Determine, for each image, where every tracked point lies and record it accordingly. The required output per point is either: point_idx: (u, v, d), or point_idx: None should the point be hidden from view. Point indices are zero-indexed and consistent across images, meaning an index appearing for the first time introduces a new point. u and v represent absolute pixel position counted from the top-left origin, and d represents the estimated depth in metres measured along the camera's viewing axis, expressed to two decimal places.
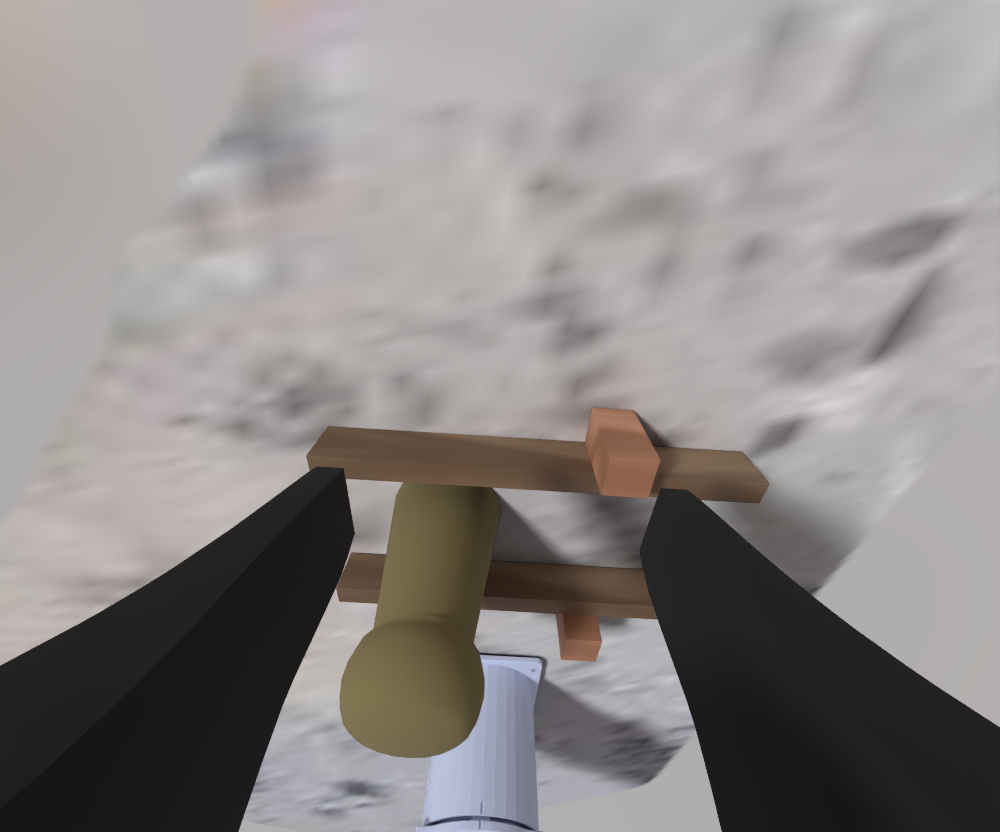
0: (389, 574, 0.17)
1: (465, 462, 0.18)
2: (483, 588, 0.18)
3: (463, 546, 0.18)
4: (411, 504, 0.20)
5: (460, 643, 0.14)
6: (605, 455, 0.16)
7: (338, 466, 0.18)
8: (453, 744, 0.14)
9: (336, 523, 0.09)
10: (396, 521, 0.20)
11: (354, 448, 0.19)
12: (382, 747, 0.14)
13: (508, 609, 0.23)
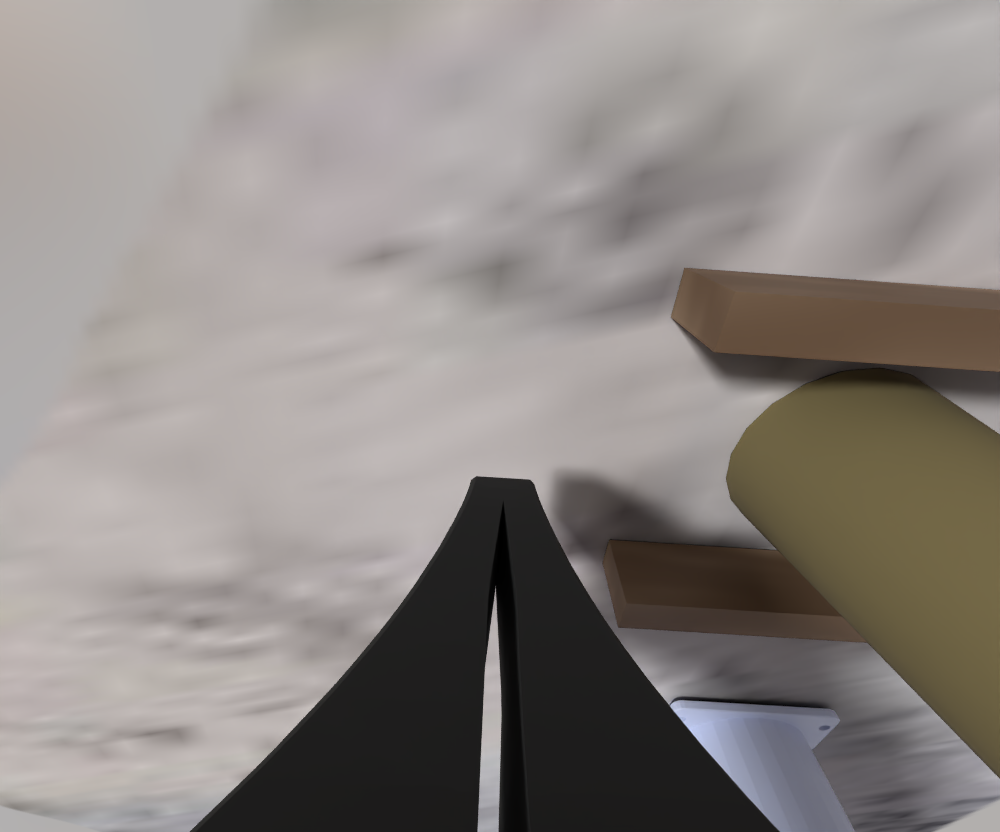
0: None
1: None
2: None
3: None
4: (875, 430, 0.09)
5: None
6: None
7: (796, 323, 0.08)
8: None
9: None
10: (845, 465, 0.09)
11: (810, 289, 0.08)
12: None
13: None
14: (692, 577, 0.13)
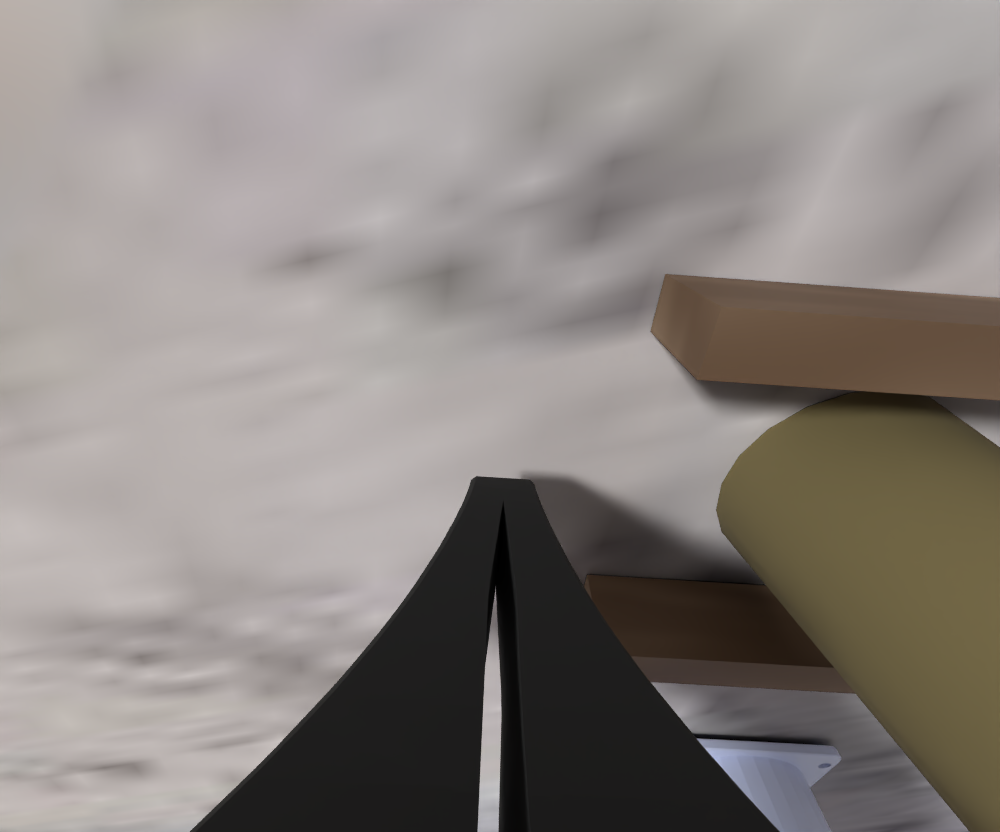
0: None
1: None
2: None
3: None
4: (889, 467, 0.08)
5: None
6: None
7: (797, 345, 0.06)
8: None
9: None
10: (853, 510, 0.08)
11: (814, 302, 0.07)
12: None
13: None
14: (678, 620, 0.12)
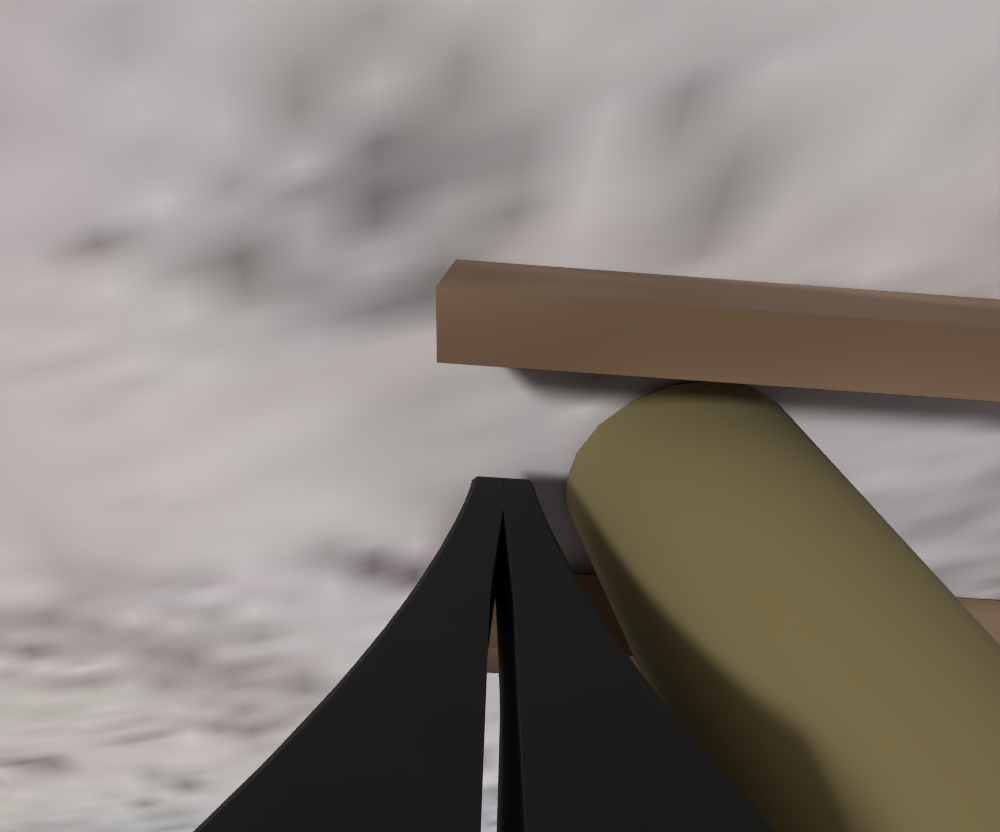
0: (766, 683, 0.05)
1: None
2: None
3: (927, 569, 0.06)
4: (683, 461, 0.08)
5: None
6: None
7: (524, 327, 0.06)
8: None
9: None
10: (647, 507, 0.07)
11: (558, 285, 0.07)
12: None
13: None
14: None
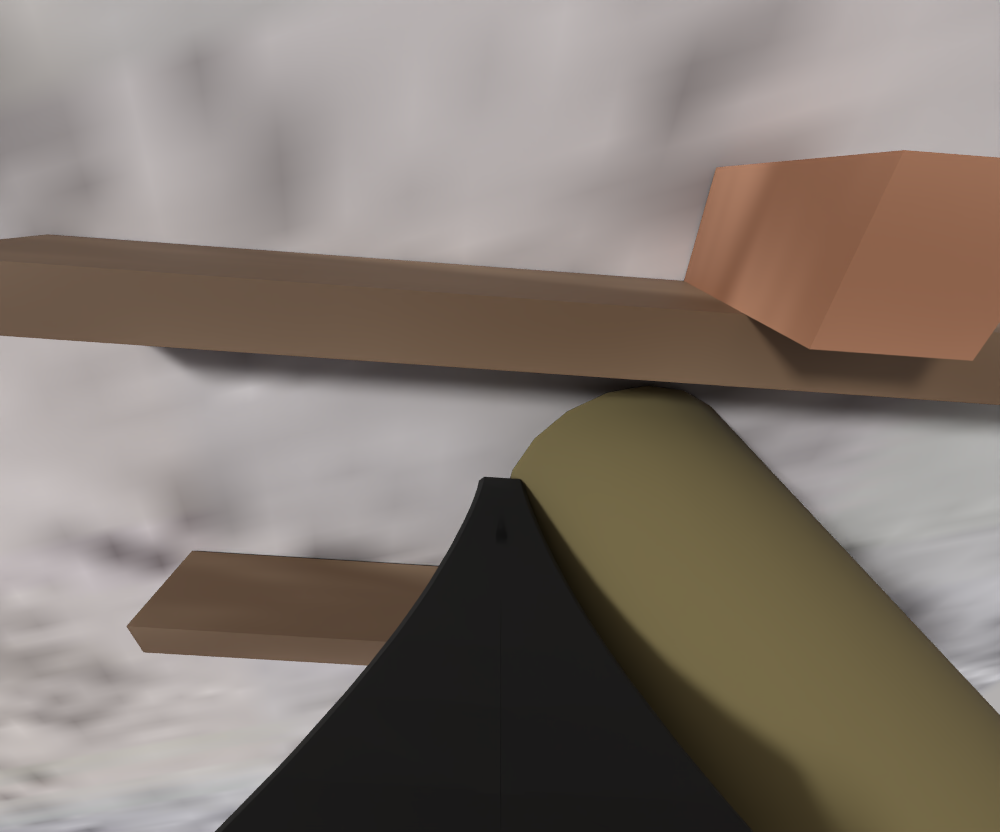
0: (730, 734, 0.04)
1: (366, 285, 0.06)
2: None
3: (865, 574, 0.06)
4: (623, 478, 0.07)
5: None
6: (846, 190, 0.04)
7: None
8: None
9: None
10: (589, 531, 0.07)
11: (58, 254, 0.07)
12: None
13: None
14: (244, 594, 0.12)
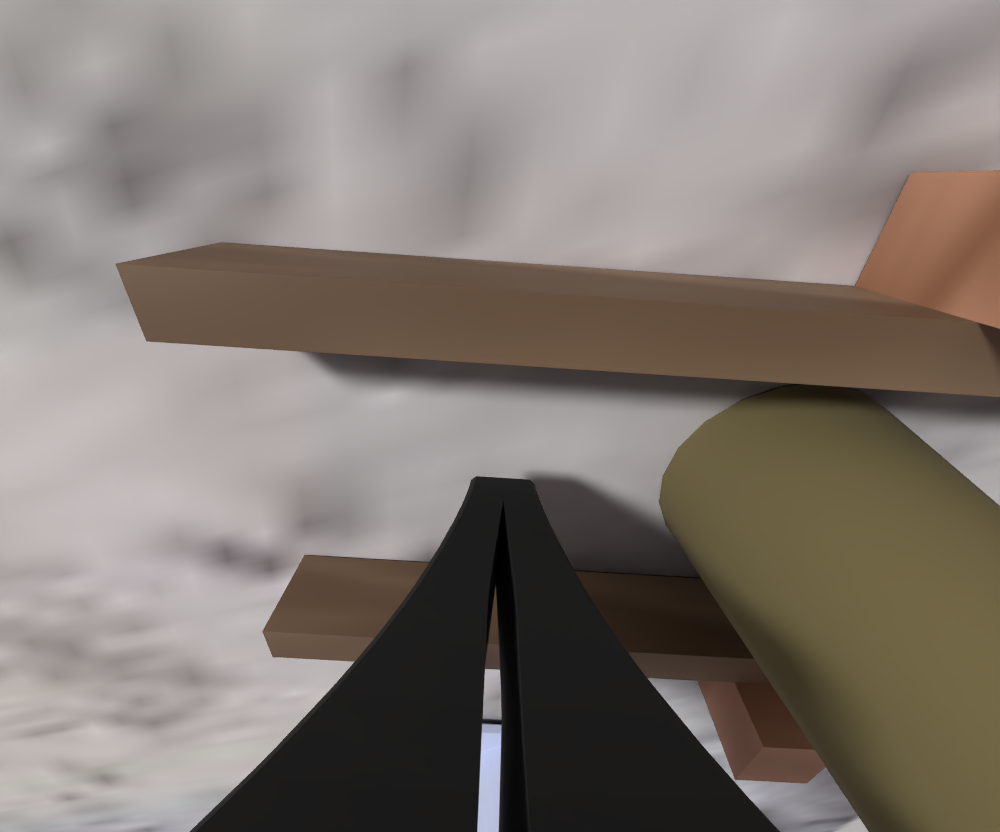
0: (934, 667, 0.05)
1: (591, 294, 0.06)
2: None
3: None
4: (809, 459, 0.08)
5: None
6: None
7: (218, 304, 0.06)
8: None
9: None
10: (772, 501, 0.08)
11: (271, 263, 0.07)
12: None
13: None
14: (367, 599, 0.12)
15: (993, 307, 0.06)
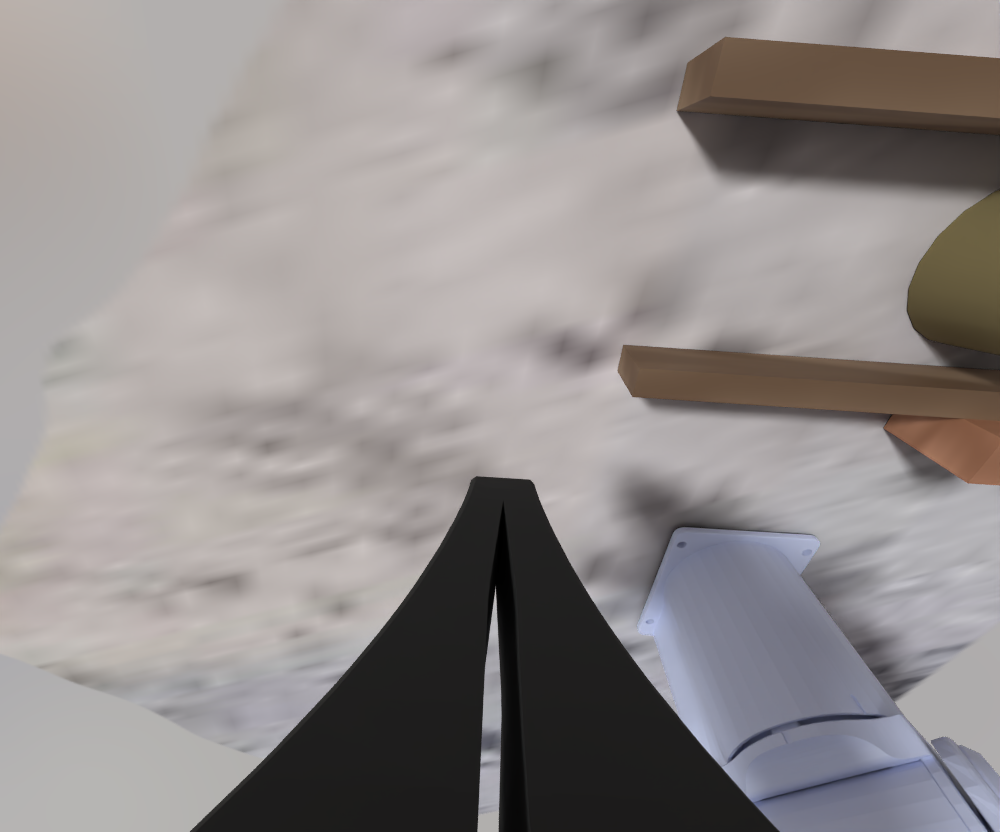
0: None
1: None
2: None
3: None
4: None
5: None
6: None
7: (770, 67, 0.11)
8: None
9: None
10: None
11: None
12: None
13: (880, 412, 0.16)
14: (693, 361, 0.16)
15: None
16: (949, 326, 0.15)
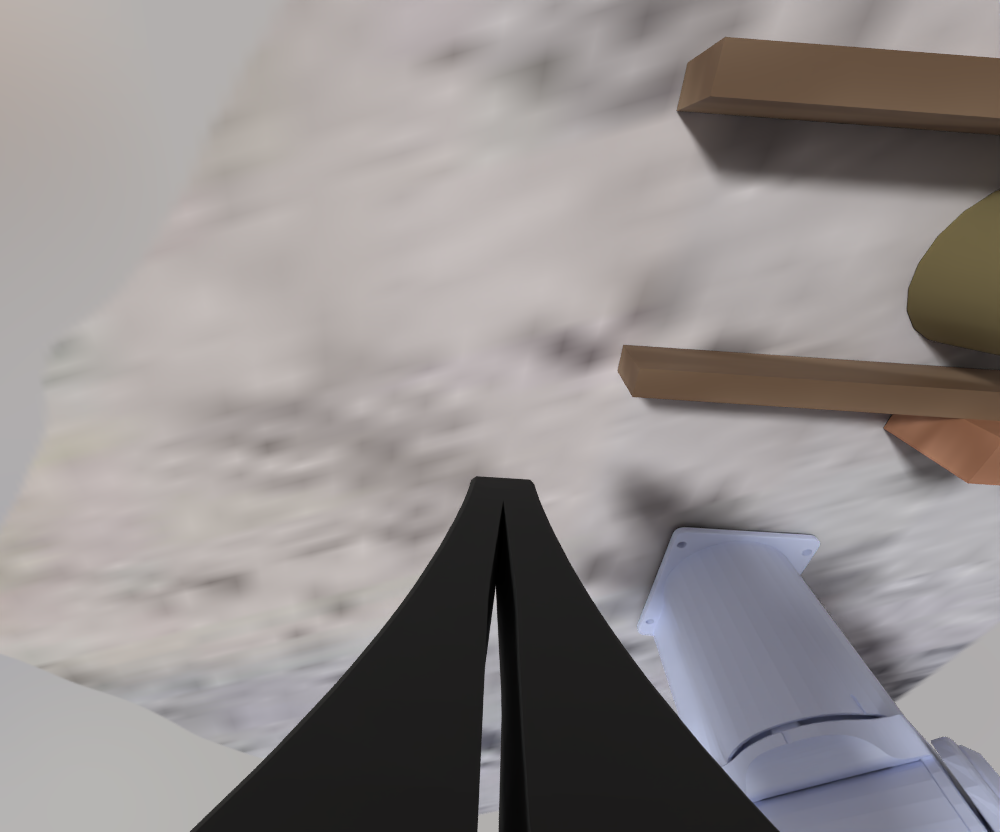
0: None
1: None
2: None
3: None
4: None
5: None
6: None
7: (770, 67, 0.11)
8: None
9: None
10: None
11: None
12: None
13: (880, 412, 0.16)
14: (693, 361, 0.16)
15: None
16: (949, 326, 0.15)
